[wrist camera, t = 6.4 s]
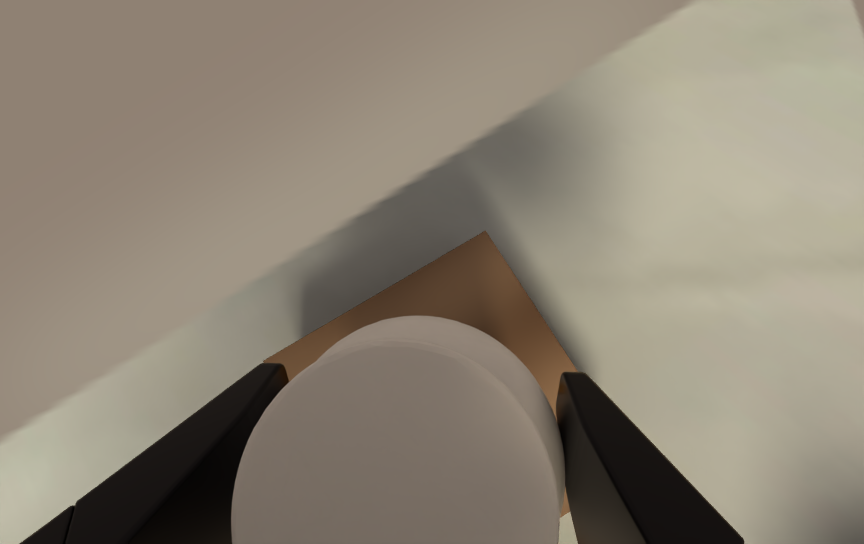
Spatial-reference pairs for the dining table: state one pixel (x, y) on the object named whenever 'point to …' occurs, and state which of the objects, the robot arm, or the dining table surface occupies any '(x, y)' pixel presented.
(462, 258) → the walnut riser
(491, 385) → the supplement bottle
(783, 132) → the dining table surface
